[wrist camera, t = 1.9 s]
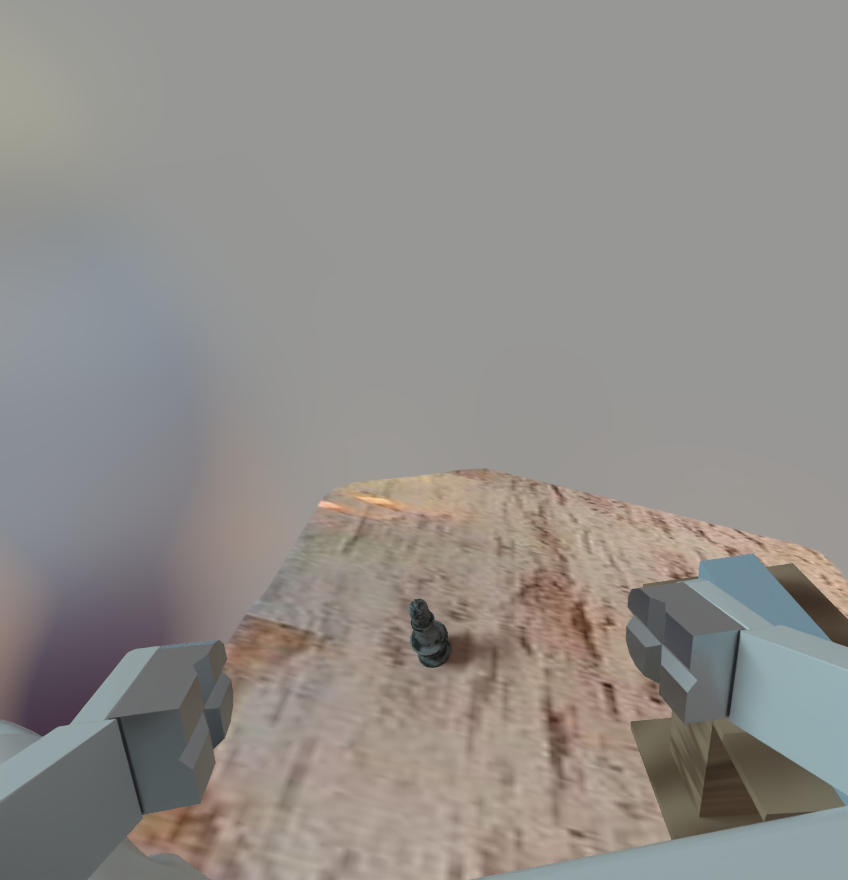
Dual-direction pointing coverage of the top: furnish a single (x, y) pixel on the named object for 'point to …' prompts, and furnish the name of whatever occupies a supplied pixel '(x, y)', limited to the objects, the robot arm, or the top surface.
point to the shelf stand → (734, 753)
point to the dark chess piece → (428, 635)
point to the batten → (760, 596)
